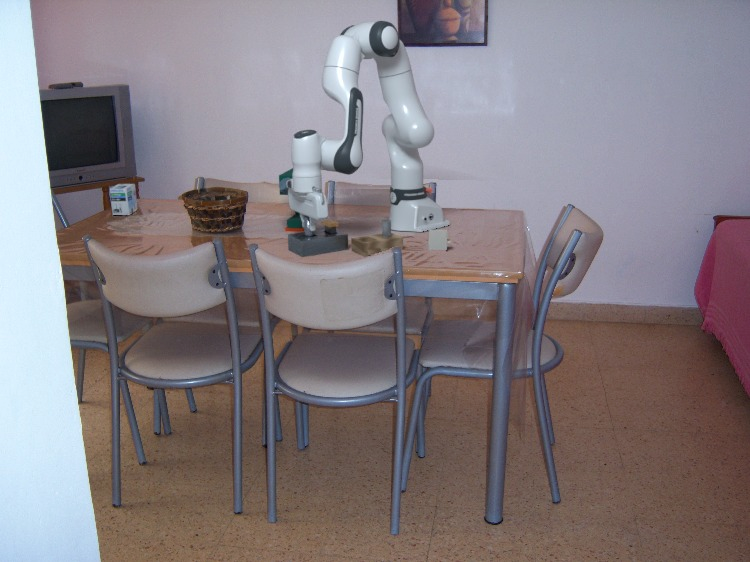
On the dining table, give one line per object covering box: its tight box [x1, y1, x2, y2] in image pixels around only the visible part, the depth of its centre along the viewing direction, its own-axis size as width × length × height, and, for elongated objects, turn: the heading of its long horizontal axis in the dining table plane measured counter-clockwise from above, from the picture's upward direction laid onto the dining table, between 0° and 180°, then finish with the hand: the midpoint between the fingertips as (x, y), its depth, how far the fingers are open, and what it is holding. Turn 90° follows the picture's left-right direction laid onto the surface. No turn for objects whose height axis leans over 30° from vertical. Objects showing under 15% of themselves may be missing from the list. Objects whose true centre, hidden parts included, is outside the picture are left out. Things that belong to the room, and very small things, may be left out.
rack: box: [350, 219, 404, 257], centre depth 244 cm, size 14×8×9 cm, turn 121°
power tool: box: [278, 167, 305, 233], centre depth 270 cm, size 32×7×20 cm, turn 168°
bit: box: [304, 216, 314, 238], centre depth 244 cm, size 3×3×11 cm
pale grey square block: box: [427, 228, 452, 250], centre depth 243 cm, size 3×7×7 cm, turn 89°
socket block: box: [287, 228, 349, 258], centre depth 246 cm, size 16×10×5 cm, turn 121°
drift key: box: [321, 219, 340, 235], centre depth 248 cm, size 3×5×8 cm, turn 31°
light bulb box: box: [109, 183, 138, 216], centre depth 300 cm, size 11×7×11 cm, turn 179°
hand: (309, 228), depth 243 cm, fingers closed on bit, 3 cm apart
